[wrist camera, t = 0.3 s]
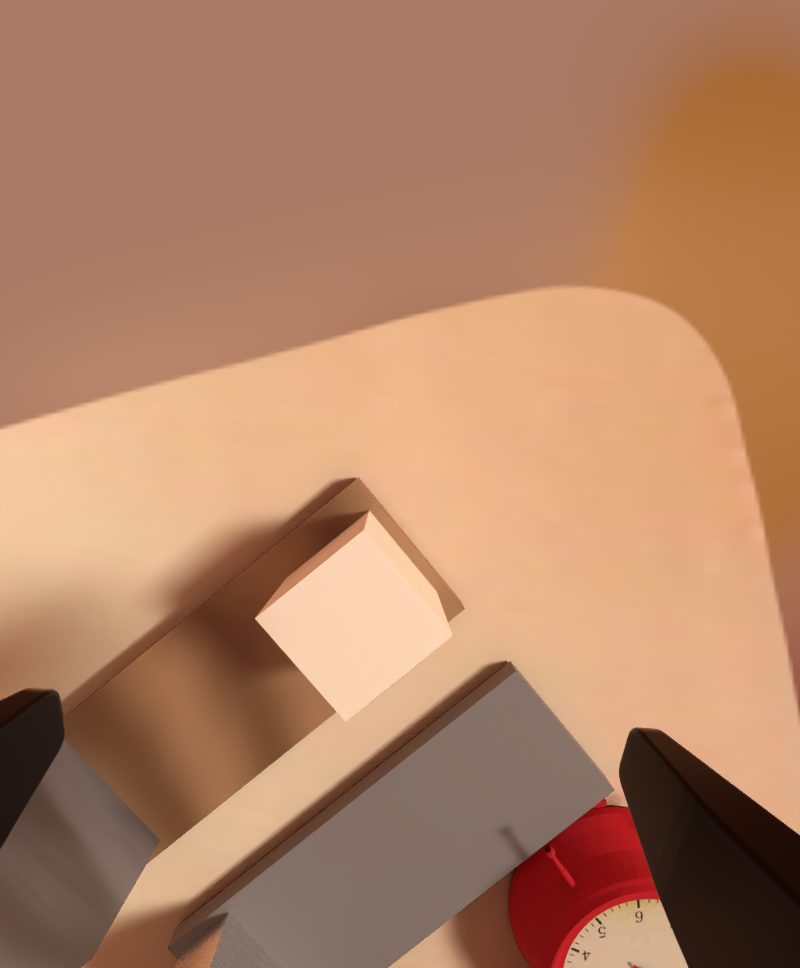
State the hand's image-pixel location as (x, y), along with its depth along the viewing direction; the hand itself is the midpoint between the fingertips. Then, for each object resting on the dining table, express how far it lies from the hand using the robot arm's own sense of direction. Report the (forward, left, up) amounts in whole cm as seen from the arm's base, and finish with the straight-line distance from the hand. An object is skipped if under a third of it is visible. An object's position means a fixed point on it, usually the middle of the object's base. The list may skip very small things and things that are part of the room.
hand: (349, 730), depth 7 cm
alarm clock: (-4, -24, -15) cm, 29 cm away
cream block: (-2, -1, -14) cm, 14 cm away
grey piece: (-10, -13, -15) cm, 22 cm away
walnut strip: (-10, -1, -15) cm, 18 cm away
